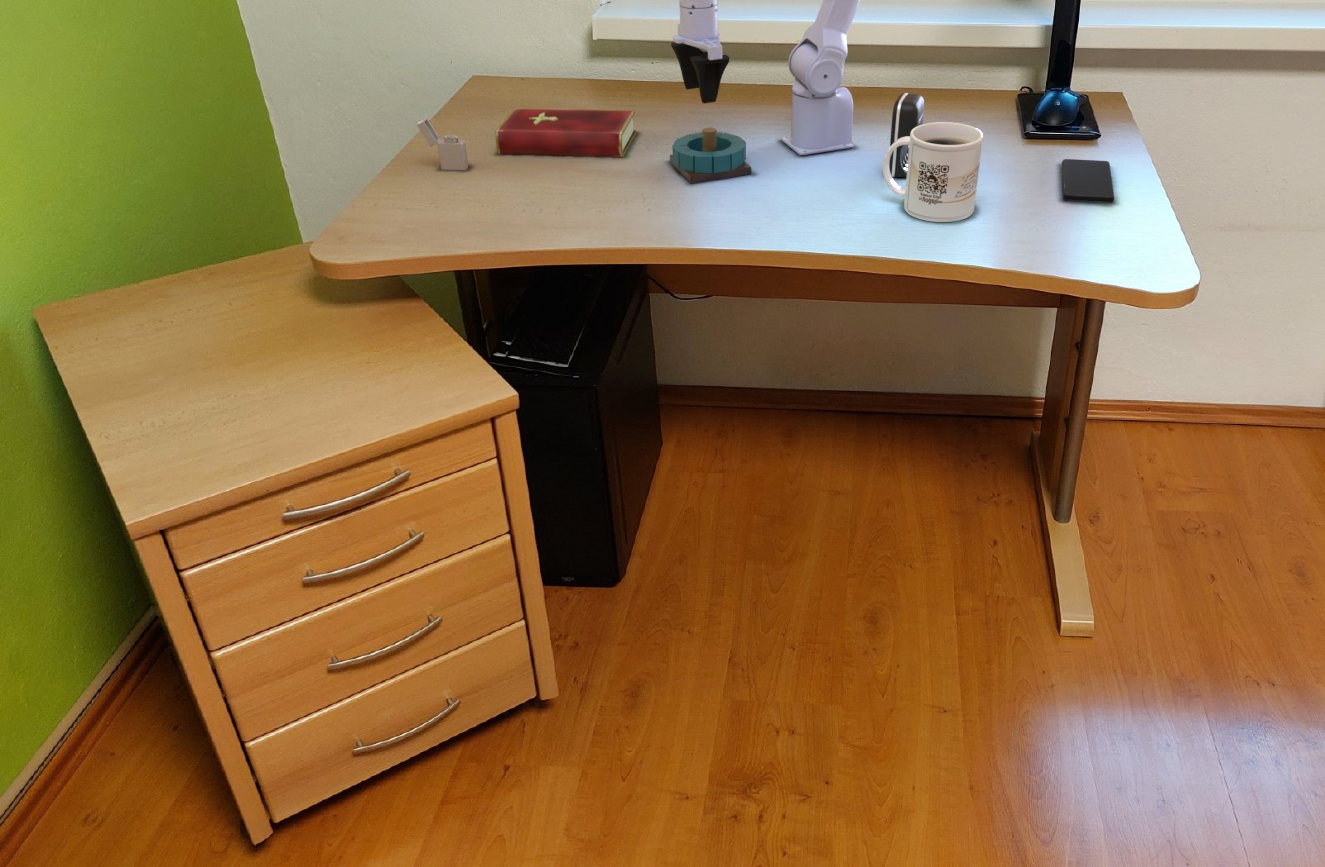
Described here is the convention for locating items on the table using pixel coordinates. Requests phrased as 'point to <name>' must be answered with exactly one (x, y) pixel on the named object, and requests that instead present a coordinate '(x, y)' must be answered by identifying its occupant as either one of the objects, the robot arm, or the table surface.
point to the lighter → (446, 147)
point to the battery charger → (904, 129)
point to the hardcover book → (566, 132)
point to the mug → (939, 171)
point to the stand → (711, 146)
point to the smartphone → (1087, 180)
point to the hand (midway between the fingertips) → (700, 95)
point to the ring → (709, 153)
